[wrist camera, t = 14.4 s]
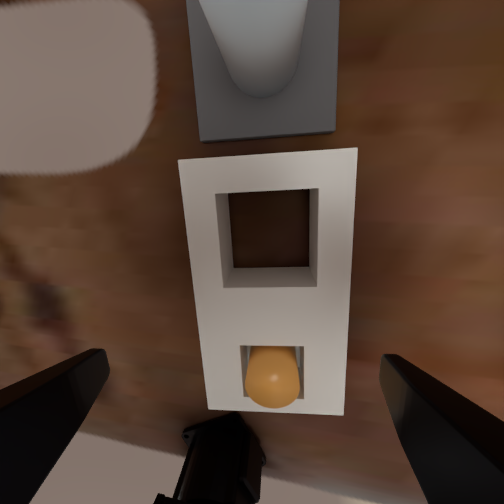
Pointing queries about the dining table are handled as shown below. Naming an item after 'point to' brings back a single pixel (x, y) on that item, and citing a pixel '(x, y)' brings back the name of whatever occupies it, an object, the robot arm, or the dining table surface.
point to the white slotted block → (272, 276)
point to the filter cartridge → (258, 41)
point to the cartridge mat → (279, 105)
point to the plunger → (272, 376)
